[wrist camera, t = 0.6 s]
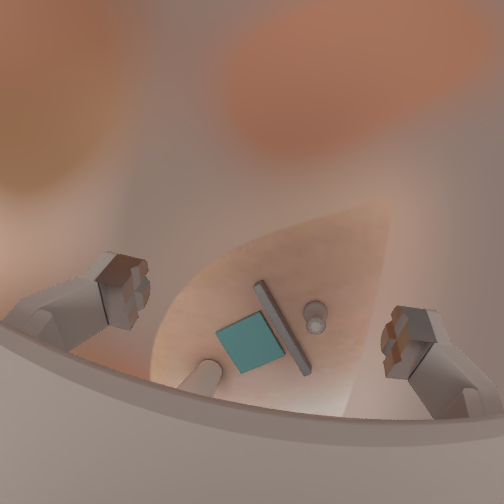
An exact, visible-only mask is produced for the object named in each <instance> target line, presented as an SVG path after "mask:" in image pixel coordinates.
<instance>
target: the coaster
mask: <svg viewBox="0 0 504 504" xmlns="http://www.w3.org/2000/svg"><path fill="white" fill-rule="evenodd" d="M216 335H217V337H218V338H219V340H220V342H221V343H222V345H223V346H224V348H225V350H226V351H227V353H228V354H229V356H230V357H231V359H232V361H233V362H234V364H235V365H236V367H237V368H238V370H239V371H240V373H241V374H242V373H244V372H247V371H249V370H252V369H254V368H256V367H259V366H261V365H264V364H266V363H268V362H271V361H273V360H275V359H278V358H280V357H282V356H285V352H284V350H283V348H282V347H281V345H280V343H279V341H278V340H277V338H276V336H275V335H274V333H273V331H272V330H271V328H270V326H269V324H268V323H267V321H266V319H265V318H264V316H263V314H262V312H261V311H258V312H256V313H254V314H252V315H250V316H248V317H246V318H244V319H242V320H240V321H238V322H236V323H234V324H231V325H229V326H227V327H225V328H223V329H221V330H219V331H217V332H216Z"/></svg>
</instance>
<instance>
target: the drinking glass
mask: <svg viewBox="0 0 504 504" xmlns="http://www.w3.org/2000/svg"><path fill="white" fill-rule="evenodd" d="M221 376H222V369H221V367H220V365H219V364H218V363H217V362H215V361H213V360H204V361H202V362H200V364H199V365H198V366H197V367H196V368H195V370H194V371H193V372H192V373H191V374H190V375H189V376H188V377H187V378H186V379H185V380H184V381H183V382H182V383H181V384H180V385H179V386H178V387H177V389H180V390H183V391H187V392H191V393H195V394H199V395H203V396H208V397H212V398H213V397H214V394H215V391H216V388H217V386H218V383H219V380H220V378H221Z"/></svg>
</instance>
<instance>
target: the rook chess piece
mask: <svg viewBox="0 0 504 504" xmlns="http://www.w3.org/2000/svg"><path fill="white" fill-rule="evenodd" d="M303 313H304V318H305V320H306V322H307V324H306V328H307V330H308V332H310V333H311V334H314V335H316V334H320V333H322V332H323V331H324V330H325V327H326V323H325V320H326V317H327V308H326V307H325V305H324V304H323V303H321V302H317V301H314V302H310V303H309V304H307V305H306V307H305V308H304V312H303Z"/></svg>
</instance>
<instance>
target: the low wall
mask: <svg viewBox="0 0 504 504" xmlns="http://www.w3.org/2000/svg"><path fill="white" fill-rule="evenodd" d="M253 289H254V291H255V293H256V294H257V296H258V298H259V300H260V301H261V303H262V305H263V307H264V308H265V310H266V312H267V314H268V315H269V317H270V319H271V321H272V322H273V324H274V326H275V327H276V329H277V331H278V333H279V334H280V336H281V338H282V339H283V341H284V343H285V345H286V346H287V348H288V350H289V351H290V353H291V355H292V357H293V358H294V360H295V362H296V363H297V365H298V367H299V368H300V370H301V372H302V374H303V375H304V377H305V376H307V375H309V374H311V364H310V363H309V361H308V359H307V357H306V356H305V354H304V352H303V350H302V349H301V347H300V345H299V343H298V342H297V340H296V338H295V336H294V335H293V333H292V331H291V329H290V328H289V326H288V324H287V322H286V321H285V319H284V317H283V315H282V314H281V312H280V310H279V308H278V307H277V305H276V303H275V301H274V299H273V298H272V296H271V294H270V292H269V291H268V289H267V287H266V285H265V284H264V282H263V280H261V281H259V282H257V283H255V285H254V286H253Z"/></svg>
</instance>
